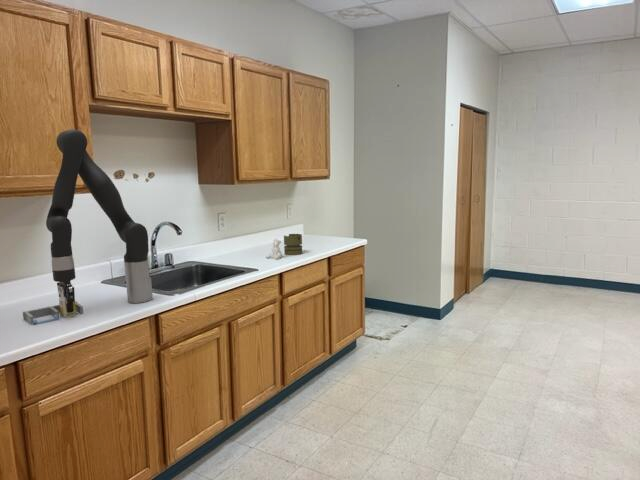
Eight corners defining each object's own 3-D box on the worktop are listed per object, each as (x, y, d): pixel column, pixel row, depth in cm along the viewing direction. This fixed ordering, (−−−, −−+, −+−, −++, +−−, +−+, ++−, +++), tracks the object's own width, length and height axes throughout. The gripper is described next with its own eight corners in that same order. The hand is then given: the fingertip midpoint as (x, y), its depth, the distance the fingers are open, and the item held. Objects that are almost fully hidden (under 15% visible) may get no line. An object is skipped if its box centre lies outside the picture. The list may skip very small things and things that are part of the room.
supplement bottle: (79, 313, 188) (76, 289, 187) (72, 317, 183) (69, 292, 181) (65, 313, 188) (62, 289, 186) (58, 317, 183) (55, 293, 181)
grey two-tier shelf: (77, 308, 194) (76, 301, 194) (84, 313, 187) (84, 306, 187) (23, 319, 182) (22, 311, 181) (29, 325, 175) (28, 317, 174)
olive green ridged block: (280, 235, 300) (290, 233, 309) (280, 254, 302) (291, 251, 311) (295, 236, 294) (305, 234, 303) (295, 256, 296) (305, 252, 305)
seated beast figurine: (265, 258, 290) (264, 239, 288) (275, 256, 296) (274, 237, 294) (275, 260, 284) (274, 240, 282) (286, 258, 290) (285, 238, 288)
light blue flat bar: (58, 319, 181) (57, 314, 181) (59, 319, 180) (58, 315, 180) (32, 324, 175) (32, 319, 175) (33, 325, 174) (32, 320, 174)
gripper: (79, 268, 180) (84, 312, 182) (68, 263, 190) (72, 305, 193) (57, 272, 175) (62, 316, 177) (47, 266, 185) (52, 309, 188)
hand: (68, 310), depth 185 cm, fingers closed on supplement bottle, 5 cm apart
